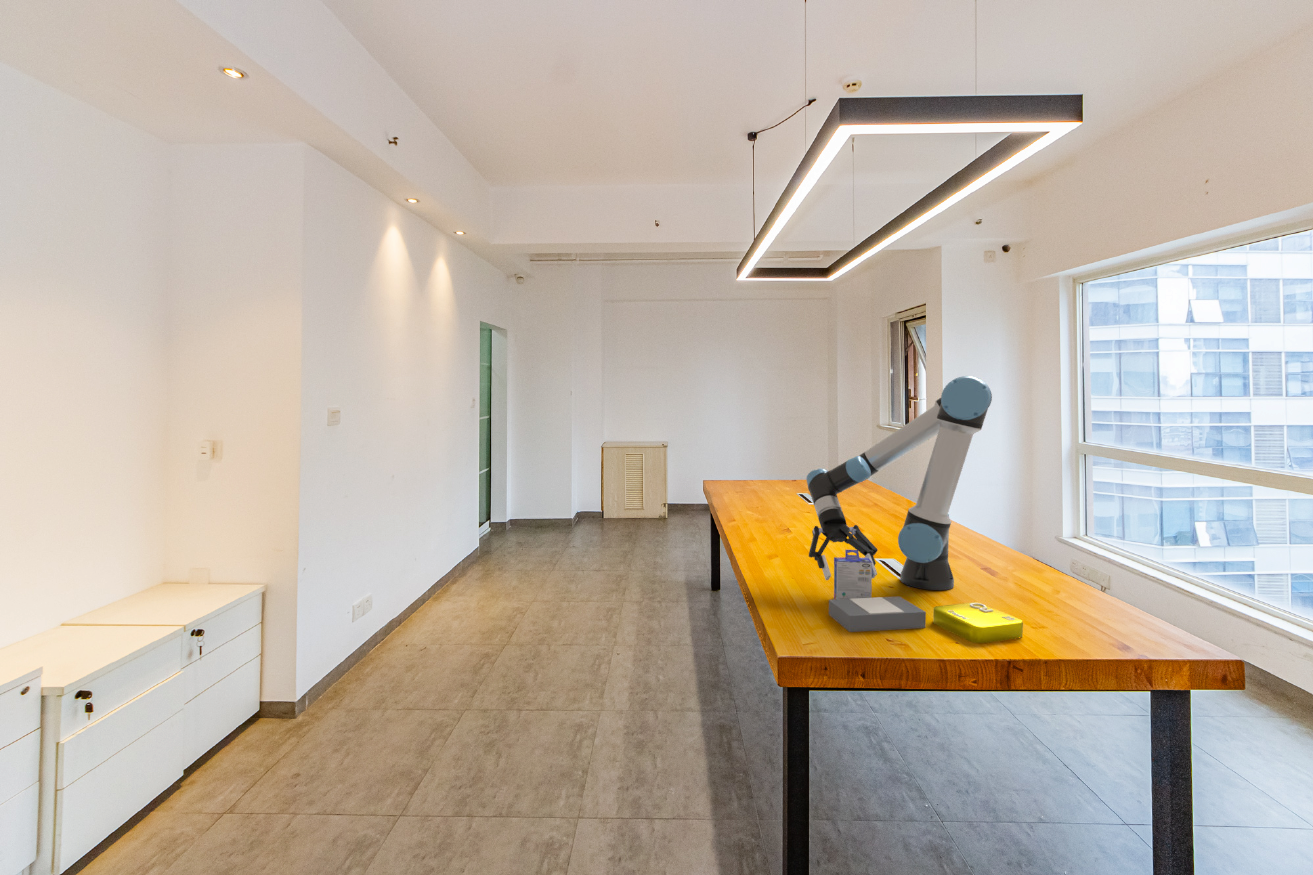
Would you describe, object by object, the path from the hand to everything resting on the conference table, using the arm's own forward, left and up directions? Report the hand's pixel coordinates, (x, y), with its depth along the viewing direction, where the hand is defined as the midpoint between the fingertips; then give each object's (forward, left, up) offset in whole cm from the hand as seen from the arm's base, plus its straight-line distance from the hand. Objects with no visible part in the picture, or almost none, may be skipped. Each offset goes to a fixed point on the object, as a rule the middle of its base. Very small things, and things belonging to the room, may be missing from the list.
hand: (851, 577), depth 164 cm
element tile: (-22, +23, -8) cm, 33 cm away
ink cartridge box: (-1, -1, -7) cm, 7 cm away
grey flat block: (0, +14, -7) cm, 16 cm away
